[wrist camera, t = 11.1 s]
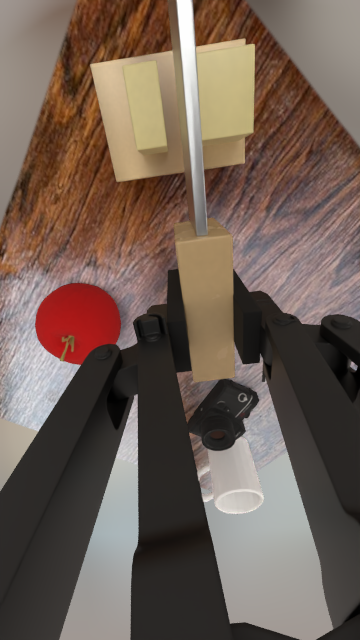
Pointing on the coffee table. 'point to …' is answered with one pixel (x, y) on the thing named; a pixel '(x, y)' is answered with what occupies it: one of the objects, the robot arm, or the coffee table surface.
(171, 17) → the knife
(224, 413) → the film camera
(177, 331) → the robot arm
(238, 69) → the butter block
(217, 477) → the mug
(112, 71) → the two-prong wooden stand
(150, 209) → the coffee table surface
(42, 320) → the fruit
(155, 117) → the butter slice
